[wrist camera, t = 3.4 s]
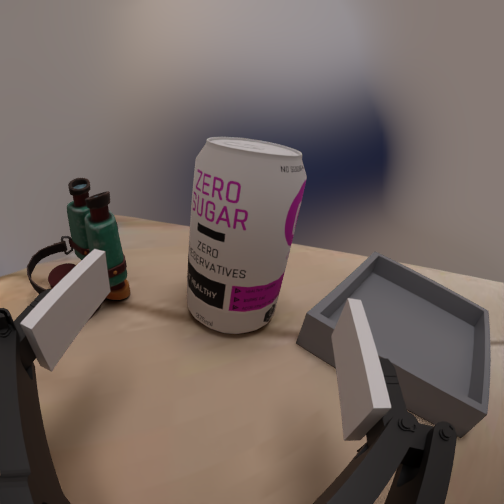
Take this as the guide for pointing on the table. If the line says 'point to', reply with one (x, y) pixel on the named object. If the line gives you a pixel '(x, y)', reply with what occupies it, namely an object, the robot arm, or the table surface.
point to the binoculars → (88, 239)
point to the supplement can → (241, 230)
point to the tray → (415, 339)
